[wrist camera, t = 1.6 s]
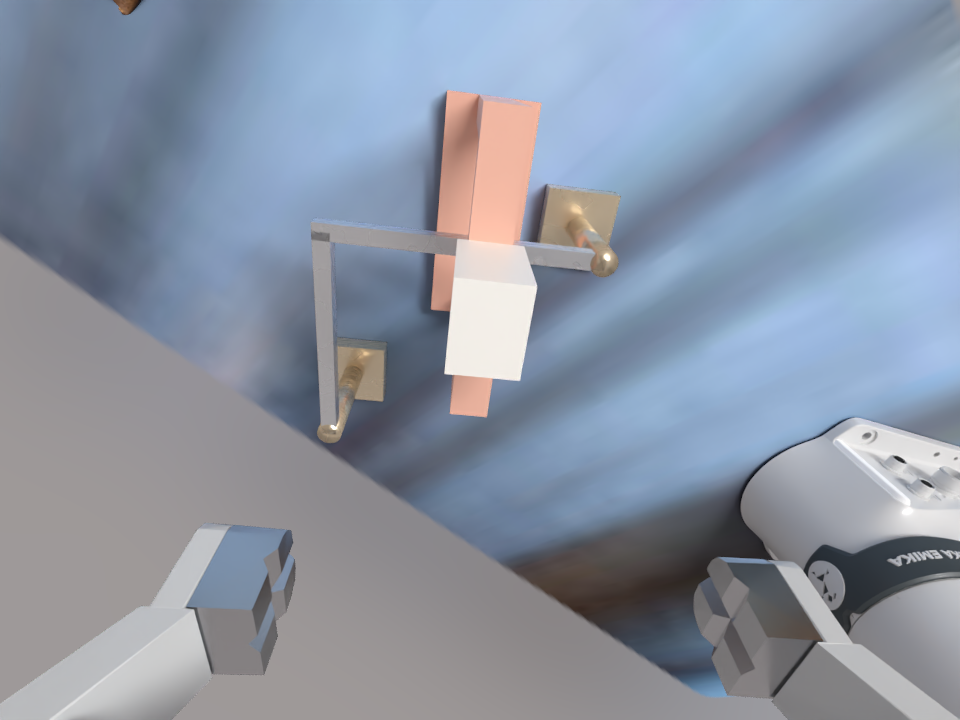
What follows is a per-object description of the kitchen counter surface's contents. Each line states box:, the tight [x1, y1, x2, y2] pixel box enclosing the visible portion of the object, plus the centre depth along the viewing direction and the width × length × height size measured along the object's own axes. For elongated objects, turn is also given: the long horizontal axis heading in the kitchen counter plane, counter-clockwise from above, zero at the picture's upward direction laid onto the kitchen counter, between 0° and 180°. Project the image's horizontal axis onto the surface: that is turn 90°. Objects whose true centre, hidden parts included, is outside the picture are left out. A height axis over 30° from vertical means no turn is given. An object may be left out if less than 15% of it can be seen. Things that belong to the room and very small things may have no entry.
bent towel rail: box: [311, 184, 621, 443], centre depth 35 cm, size 21×19×10 cm
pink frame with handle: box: [431, 90, 541, 417], centre depth 27 cm, size 6×15×20 cm, turn 173°
